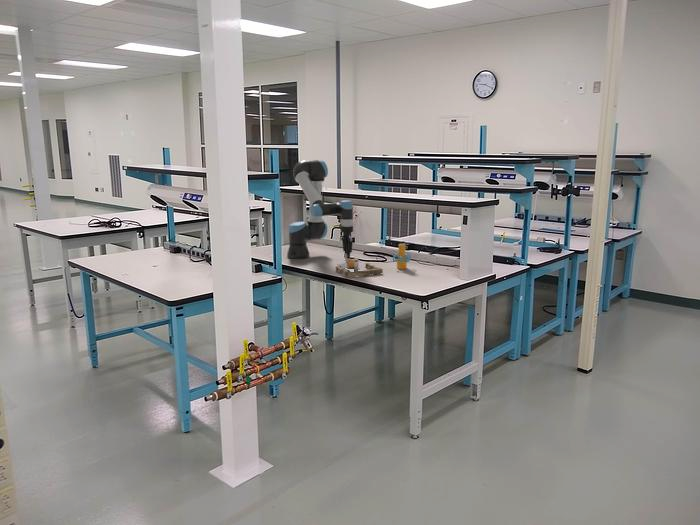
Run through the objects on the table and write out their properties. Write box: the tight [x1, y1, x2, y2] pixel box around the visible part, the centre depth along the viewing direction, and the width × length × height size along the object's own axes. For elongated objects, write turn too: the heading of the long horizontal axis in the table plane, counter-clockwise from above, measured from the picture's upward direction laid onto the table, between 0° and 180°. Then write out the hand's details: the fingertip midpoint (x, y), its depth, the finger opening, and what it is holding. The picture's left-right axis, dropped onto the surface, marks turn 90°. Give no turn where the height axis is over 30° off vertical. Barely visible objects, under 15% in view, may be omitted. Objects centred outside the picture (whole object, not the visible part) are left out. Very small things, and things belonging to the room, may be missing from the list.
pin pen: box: [335, 262, 384, 278], centre depth 315 cm, size 19×22×3 cm
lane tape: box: [336, 262, 361, 270], centre depth 324 cm, size 30×8×1 cm, turn 24°
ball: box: [347, 258, 354, 269], centre depth 324 cm, size 6×6×6 cm
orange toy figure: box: [392, 243, 412, 270], centre depth 322 cm, size 12×10×15 cm
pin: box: [353, 256, 359, 271], centre depth 317 cm, size 2×2×8 cm
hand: (347, 263), depth 329 cm, fingers closed
